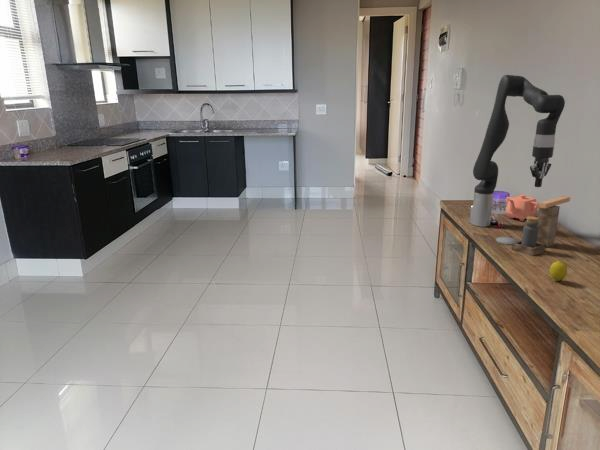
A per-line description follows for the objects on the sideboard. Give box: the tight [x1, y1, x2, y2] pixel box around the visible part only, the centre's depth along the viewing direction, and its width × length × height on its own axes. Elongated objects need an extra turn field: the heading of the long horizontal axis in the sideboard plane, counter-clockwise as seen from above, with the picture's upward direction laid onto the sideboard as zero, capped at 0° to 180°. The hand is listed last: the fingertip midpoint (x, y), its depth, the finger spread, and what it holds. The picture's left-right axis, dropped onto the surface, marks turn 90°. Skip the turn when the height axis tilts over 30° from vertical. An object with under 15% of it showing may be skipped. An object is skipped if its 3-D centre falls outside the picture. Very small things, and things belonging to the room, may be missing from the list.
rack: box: [511, 205, 561, 256], centre depth 195 cm, size 10×21×18 cm, turn 124°
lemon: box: [549, 260, 568, 282], centre depth 162 cm, size 6×6×8 cm
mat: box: [495, 236, 520, 246], centre depth 206 cm, size 10×10×1 cm
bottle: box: [521, 216, 539, 248], centre depth 192 cm, size 6×6×15 cm
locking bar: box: [538, 195, 571, 208], centre depth 198 cm, size 3×21×2 cm, turn 124°
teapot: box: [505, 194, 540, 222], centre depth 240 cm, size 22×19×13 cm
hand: (537, 186), depth 186 cm, fingers closed
